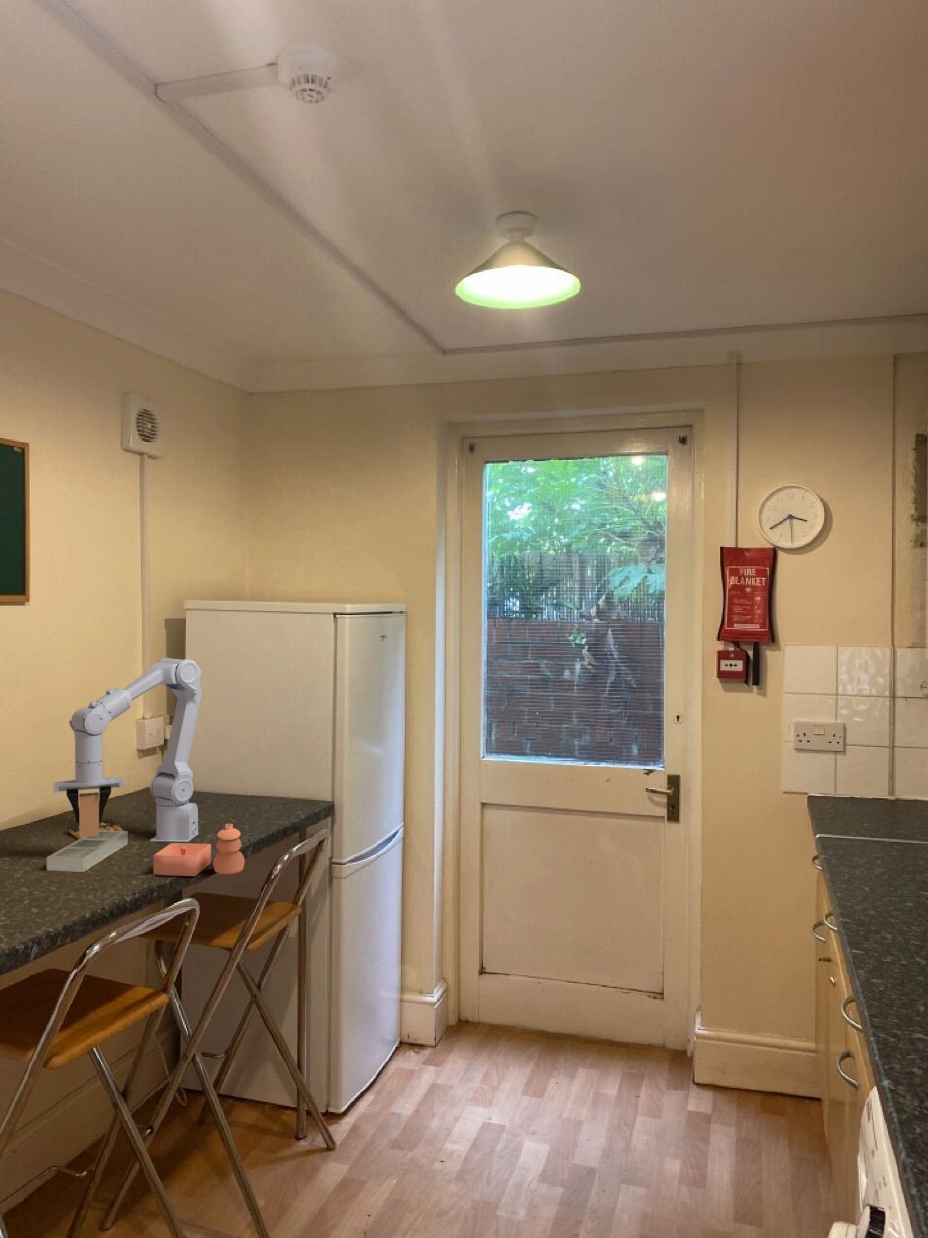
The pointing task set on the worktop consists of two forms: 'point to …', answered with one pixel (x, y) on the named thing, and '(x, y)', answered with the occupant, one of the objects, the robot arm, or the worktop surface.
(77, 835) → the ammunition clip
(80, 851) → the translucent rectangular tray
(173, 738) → the robot arm
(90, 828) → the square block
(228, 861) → the pottery
